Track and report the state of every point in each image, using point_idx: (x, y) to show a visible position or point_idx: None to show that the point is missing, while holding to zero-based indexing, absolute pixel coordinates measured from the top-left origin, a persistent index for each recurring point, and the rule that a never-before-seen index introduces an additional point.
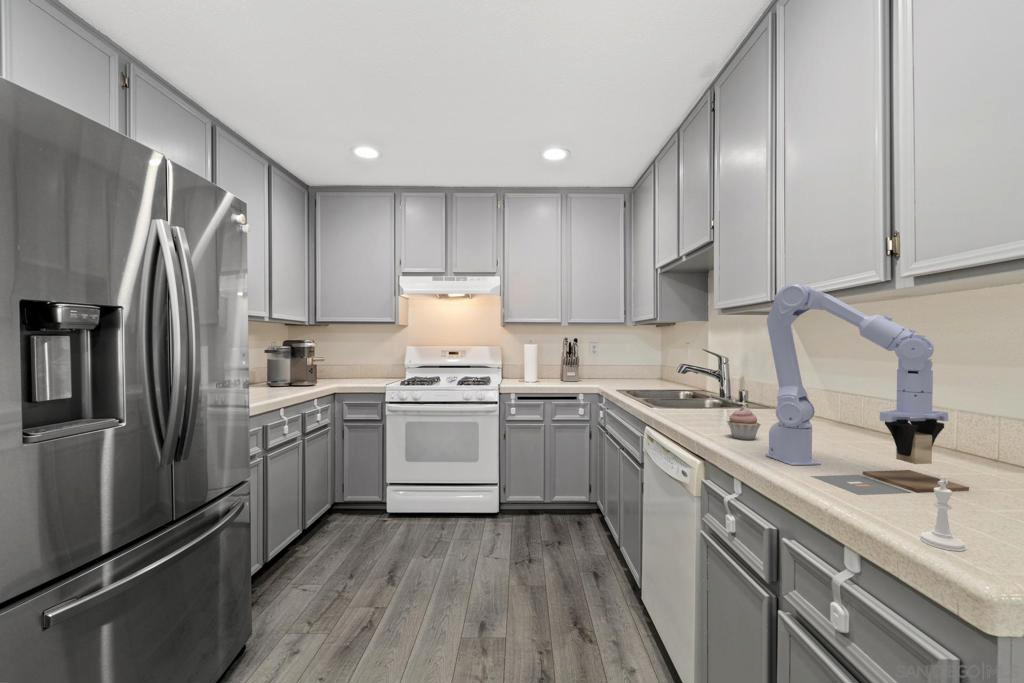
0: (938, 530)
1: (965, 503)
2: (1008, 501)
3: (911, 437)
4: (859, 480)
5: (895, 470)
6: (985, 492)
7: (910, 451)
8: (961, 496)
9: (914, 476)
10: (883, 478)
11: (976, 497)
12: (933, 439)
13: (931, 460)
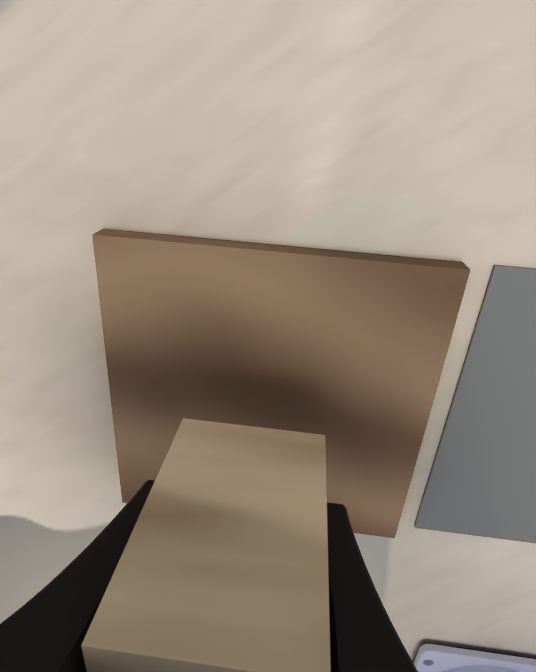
0: None
1: (384, 41)
2: (44, 23)
3: (367, 664)
4: (529, 472)
5: None
6: (23, 195)
7: (332, 529)
8: (249, 164)
9: None
10: (419, 447)
11: (173, 130)
12: (68, 591)
13: (177, 433)
